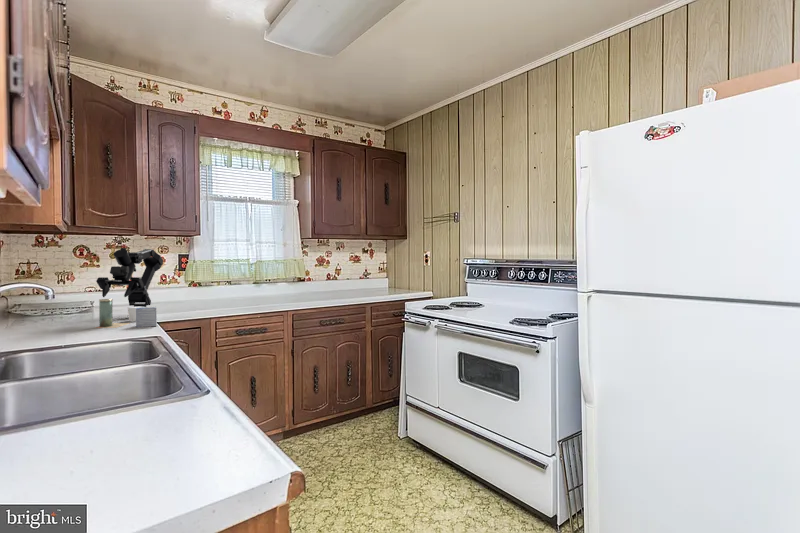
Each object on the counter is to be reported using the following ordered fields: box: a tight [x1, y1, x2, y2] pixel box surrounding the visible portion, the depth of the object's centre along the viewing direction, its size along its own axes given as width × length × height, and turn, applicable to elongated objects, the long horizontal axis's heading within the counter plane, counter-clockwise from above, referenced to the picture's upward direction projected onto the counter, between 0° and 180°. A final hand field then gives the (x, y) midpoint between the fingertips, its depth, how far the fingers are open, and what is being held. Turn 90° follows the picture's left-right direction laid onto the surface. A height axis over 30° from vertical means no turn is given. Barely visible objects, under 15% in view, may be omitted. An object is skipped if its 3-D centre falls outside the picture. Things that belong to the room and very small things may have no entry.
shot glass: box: [127, 306, 142, 322], centre depth 207 cm, size 7×7×7 cm
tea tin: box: [98, 298, 114, 327], centre depth 190 cm, size 5×5×12 cm
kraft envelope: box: [95, 322, 131, 329], centre depth 192 cm, size 14×9×1 cm, turn 8°
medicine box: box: [135, 306, 158, 328], centre depth 191 cm, size 8×4×9 cm, turn 118°
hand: (114, 296), depth 196 cm, fingers open, 9 cm apart
